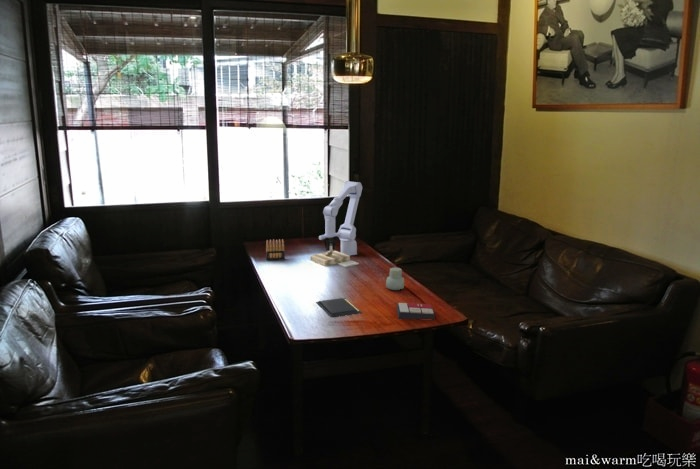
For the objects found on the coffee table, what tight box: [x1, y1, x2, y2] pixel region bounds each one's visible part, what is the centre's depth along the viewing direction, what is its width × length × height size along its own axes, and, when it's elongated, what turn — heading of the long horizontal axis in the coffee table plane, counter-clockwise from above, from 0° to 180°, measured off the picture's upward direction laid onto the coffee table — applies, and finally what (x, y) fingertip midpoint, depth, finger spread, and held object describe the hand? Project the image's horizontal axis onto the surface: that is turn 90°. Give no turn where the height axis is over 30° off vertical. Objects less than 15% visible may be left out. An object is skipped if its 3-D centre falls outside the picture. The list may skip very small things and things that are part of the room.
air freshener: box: [385, 267, 405, 291], centre depth 262 cm, size 11×8×10 cm
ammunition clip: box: [265, 238, 286, 261], centre depth 309 cm, size 11×2×12 cm, turn 102°
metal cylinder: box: [326, 241, 334, 255], centre depth 308 cm, size 3×3×7 cm
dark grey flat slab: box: [315, 297, 363, 318], centre depth 237 cm, size 20×2×15 cm
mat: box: [337, 259, 360, 268], centre depth 302 cm, size 10×7×1 cm
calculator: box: [396, 302, 436, 320], centre depth 229 cm, size 11×4×15 cm
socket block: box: [309, 250, 351, 267], centre depth 309 cm, size 18×14×3 cm
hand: (330, 250), depth 308 cm, fingers closed on metal cylinder, 3 cm apart
